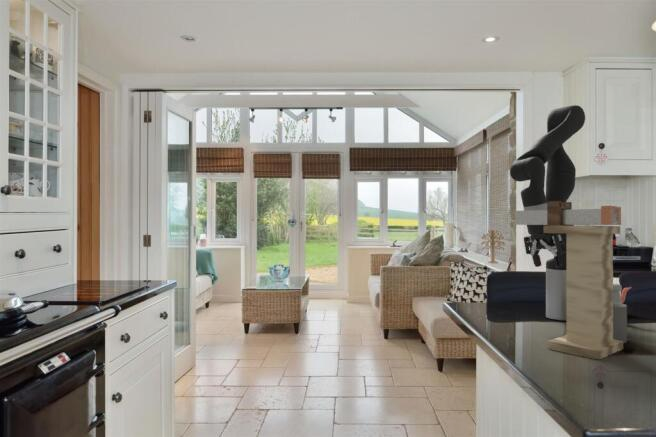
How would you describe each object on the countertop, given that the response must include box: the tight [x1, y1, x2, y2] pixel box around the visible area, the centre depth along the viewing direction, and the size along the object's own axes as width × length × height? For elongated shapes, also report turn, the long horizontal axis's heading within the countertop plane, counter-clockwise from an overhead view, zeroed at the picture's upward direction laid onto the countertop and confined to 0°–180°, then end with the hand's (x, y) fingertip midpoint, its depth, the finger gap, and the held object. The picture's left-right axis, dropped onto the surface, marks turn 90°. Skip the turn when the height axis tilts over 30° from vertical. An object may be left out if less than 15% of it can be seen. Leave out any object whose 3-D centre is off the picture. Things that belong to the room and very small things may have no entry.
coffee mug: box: [613, 302, 628, 344], centre depth 126 cm, size 13×10×10 cm
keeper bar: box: [515, 205, 622, 226], centre depth 118 cm, size 7×25×5 cm, turn 38°
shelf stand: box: [544, 201, 624, 361], centre depth 114 cm, size 16×14×39 cm
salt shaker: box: [613, 283, 623, 304], centre depth 147 cm, size 6×6×13 cm
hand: (548, 266), depth 142 cm, fingers open, 8 cm apart
